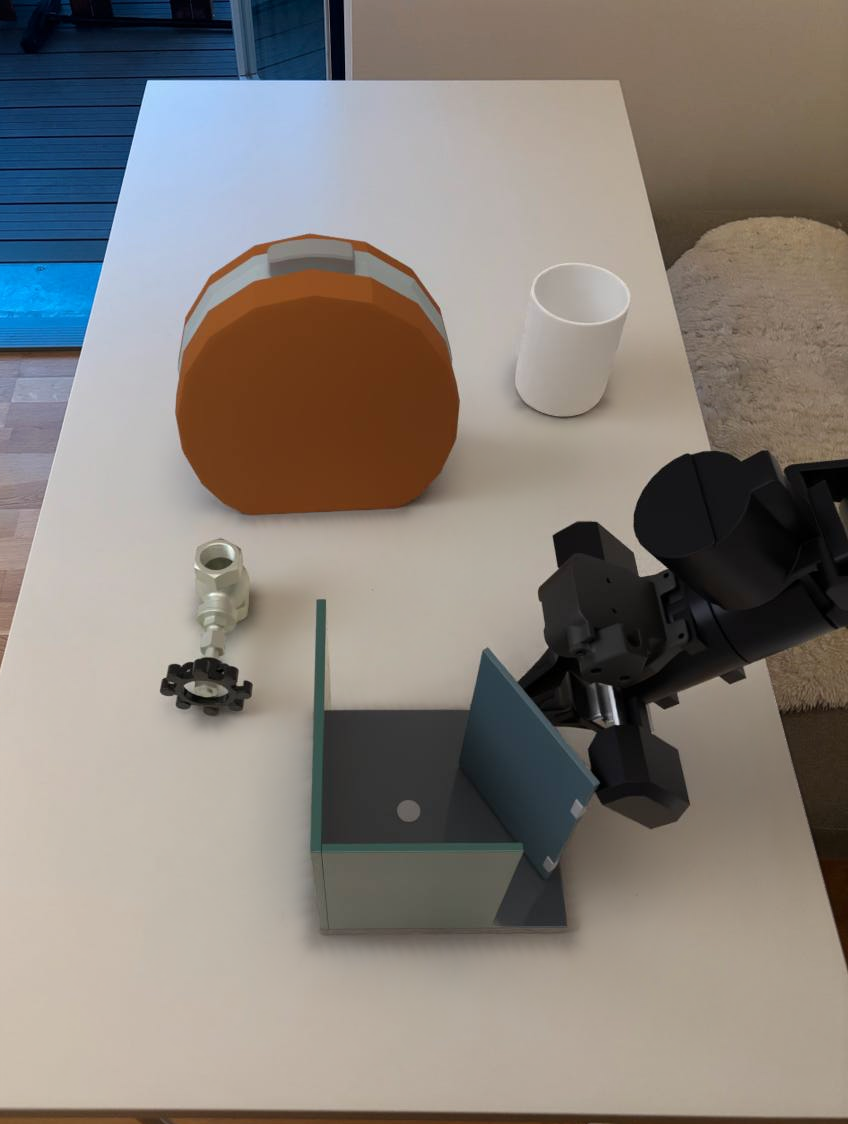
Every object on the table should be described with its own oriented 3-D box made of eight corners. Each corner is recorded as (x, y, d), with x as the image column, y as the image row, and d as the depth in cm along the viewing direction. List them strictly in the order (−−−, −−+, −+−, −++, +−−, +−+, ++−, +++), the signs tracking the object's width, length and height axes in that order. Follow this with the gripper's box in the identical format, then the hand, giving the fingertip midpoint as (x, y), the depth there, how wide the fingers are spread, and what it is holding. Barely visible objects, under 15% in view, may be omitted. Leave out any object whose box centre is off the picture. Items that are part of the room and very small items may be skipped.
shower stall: (537, 716, 68) (578, 598, 56) (564, 932, 60) (620, 851, 47) (323, 717, 68) (316, 598, 56) (319, 934, 60) (309, 852, 47)
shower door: (478, 751, 65) (507, 636, 52) (565, 866, 61) (620, 770, 48) (456, 764, 65) (481, 650, 52) (543, 881, 60) (593, 787, 47)
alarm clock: (437, 425, 85) (460, 193, 66) (449, 505, 80) (479, 278, 61) (198, 435, 84) (152, 202, 65) (195, 517, 79) (143, 290, 60)
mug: (582, 333, 92) (607, 236, 84) (613, 416, 86) (642, 321, 77) (499, 339, 92) (514, 242, 83) (523, 423, 85) (543, 327, 76)
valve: (190, 585, 75) (167, 714, 68) (177, 533, 69) (150, 668, 63) (271, 588, 75) (255, 717, 68) (264, 536, 69) (246, 672, 63)
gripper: (623, 418, 50) (413, 546, 59) (695, 716, 40) (428, 816, 49) (717, 512, 57) (515, 614, 66) (800, 788, 47) (548, 864, 56)
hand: (502, 713), depth 59 cm, fingers closed
